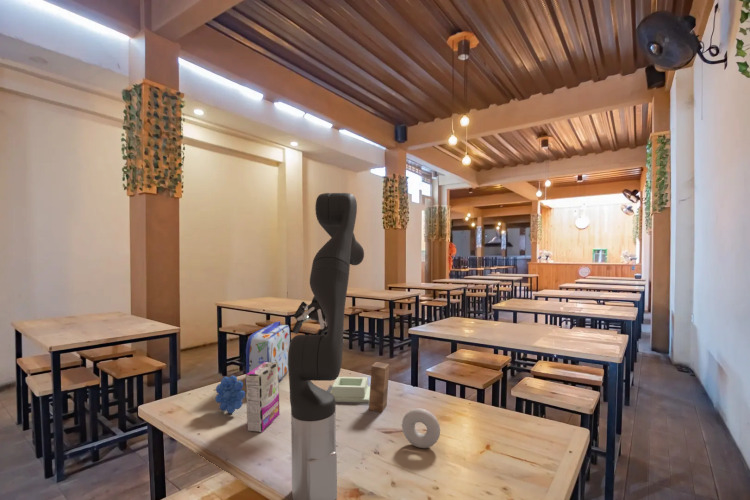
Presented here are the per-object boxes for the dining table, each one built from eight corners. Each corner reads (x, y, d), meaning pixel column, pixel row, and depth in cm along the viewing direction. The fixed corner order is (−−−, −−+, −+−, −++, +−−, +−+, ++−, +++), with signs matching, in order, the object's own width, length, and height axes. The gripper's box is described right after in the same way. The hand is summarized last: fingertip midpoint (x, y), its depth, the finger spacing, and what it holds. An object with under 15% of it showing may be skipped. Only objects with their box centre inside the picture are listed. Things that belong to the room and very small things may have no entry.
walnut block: (386, 406, 119) (389, 364, 119) (382, 412, 115) (385, 368, 114) (373, 404, 120) (376, 361, 120) (368, 409, 116) (371, 366, 116)
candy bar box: (265, 413, 115) (264, 361, 115) (280, 415, 114) (279, 362, 114) (245, 431, 104) (244, 373, 104) (261, 433, 103) (261, 374, 103)
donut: (400, 447, 95) (400, 408, 95) (404, 440, 98) (403, 403, 98) (438, 454, 92) (438, 414, 92) (441, 447, 95) (441, 408, 95)
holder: (372, 388, 134) (372, 376, 134) (368, 402, 122) (368, 389, 122) (334, 387, 135) (333, 375, 135) (326, 401, 123) (326, 387, 123)
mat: (378, 387, 136) (378, 386, 135) (374, 406, 120) (374, 405, 120) (329, 386, 137) (329, 385, 137) (319, 404, 121) (319, 403, 121)
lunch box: (269, 369, 157) (268, 317, 157) (293, 369, 157) (292, 317, 156) (241, 395, 130) (241, 332, 130) (270, 395, 129) (270, 332, 129)
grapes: (254, 410, 117) (254, 372, 117) (238, 419, 111) (238, 380, 111) (227, 404, 122) (226, 368, 122) (210, 413, 116) (209, 375, 116)
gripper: (306, 282, 125) (282, 326, 118) (342, 293, 118) (318, 339, 112) (315, 292, 131) (292, 334, 124) (349, 303, 124) (328, 348, 118)
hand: (305, 337), depth 118 cm, fingers open, 8 cm apart
